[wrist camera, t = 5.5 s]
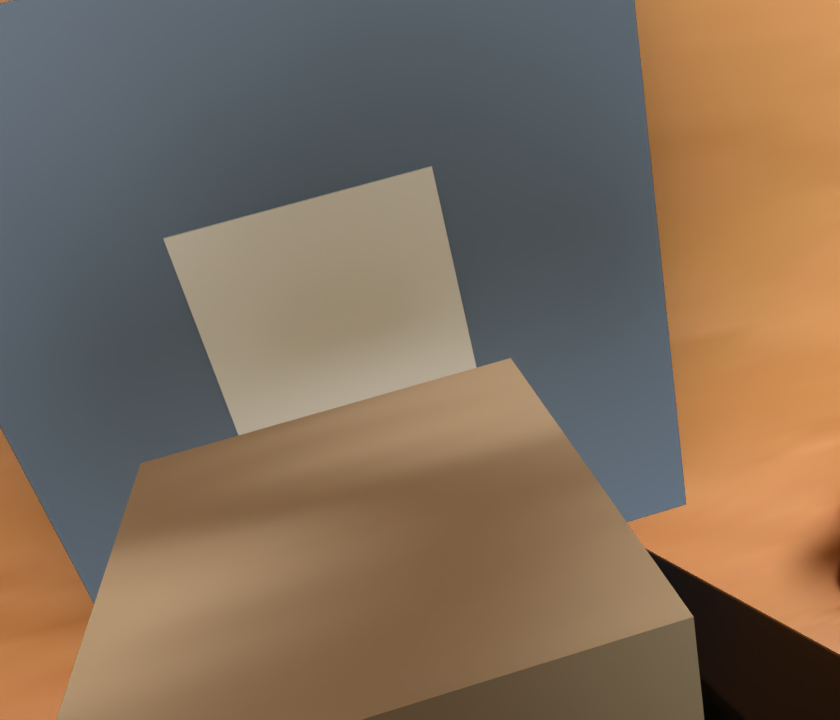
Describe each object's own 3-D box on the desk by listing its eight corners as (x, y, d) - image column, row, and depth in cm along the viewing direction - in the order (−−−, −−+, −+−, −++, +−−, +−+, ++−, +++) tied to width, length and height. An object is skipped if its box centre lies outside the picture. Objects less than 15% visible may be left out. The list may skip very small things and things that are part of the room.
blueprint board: (136, 645, 22) (129, 674, 21) (-170, 51, 15) (-202, 53, 14) (670, 485, 23) (687, 506, 22) (599, -140, 16) (621, -151, 15)
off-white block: (260, 728, 11) (248, 1153, 7) (139, 463, 9) (23, 824, 5) (566, 635, 11) (731, 986, 7) (510, 357, 9) (693, 618, 5)
